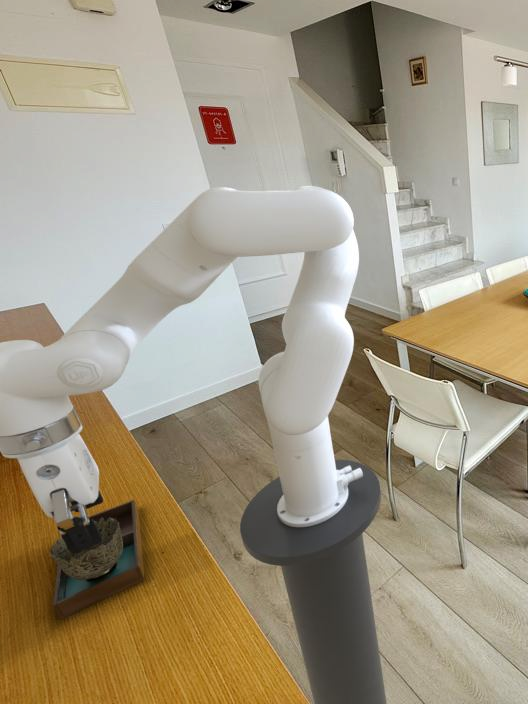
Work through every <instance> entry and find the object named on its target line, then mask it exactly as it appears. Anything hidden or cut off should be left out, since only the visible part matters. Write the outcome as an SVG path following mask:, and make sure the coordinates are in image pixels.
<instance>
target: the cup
mask: <svg viewBox="0 0 528 704" xmlns="http://www.w3.org/2000/svg"><path fill="white" fill-rule="evenodd" d="M98 521H99V522H95V521H94V522H95V524H96V526H97V528H98V530H99V532H100V534H101V536H102V542H101V543H98V544H96V545H94V546H92V547H89V548H87V549H85V550H82V551H80V552H78V553H75V554H71V553H70V551H69V549H68V547H67V545H66V544H65V542H64V540H63V539H62V538H61V537H59V538H57V540H56V542H55V543H56V544H53V545H52V546H50V548H49V550H50V551H49V552H50V554H49V556H50V558H52V559H53V561H54V562H55V563H56V565H57V567H58V566H59V567H60V568H61V569H62V570H63V571H64V572H65V573H66V574H67V575H68V576H69V577H71V578H73V579H77V580H85V581H87V582H89V583H98V582H101V581H103V580H105V579H107V578H108V577H110V576H111V575H112V574H113V573H114V572H115V570H116V568H117V562H118V560H119V559H120V557H121V555H122V551H123V541H122V535H121V530H120V525H119V522H117V521H116V519H115V518H114V520H113V519H112V518H111V517H109V518H108V519H107V521H105V520H104V518H101V519H99V520H98Z"/></svg>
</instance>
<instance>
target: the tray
mask: <svg viewBox="0 0 528 704" xmlns="http://www.w3.org/2000/svg"><path fill="white" fill-rule="evenodd" d="M88 517H89V520H90V519H92V518H93V520H94V521H95V522H99V521H98V520H99V519H101V518H104V520H105V521H107V519H108V518H109V517H111V518H112V519H113V520H114V518H115V519H116V521H117V522H119V525H120V530H121V535H122V541H123V551H122V555H121V557H120V559H119V560H118V562H117V568H116V570H115V572H114V573H113V574H112V575H111V576H110V577H108V578H107V579H105V580H103V581H101V582H98V583H89V582H87V581H85V580H77V579H73V578H71V577H69V576H68V575H67V574H66V573H65V572H64V571H63V570H62V569H61V568H60V567H59V566H58V565H57V571H56V579H55V586H54V593H53V603H52V607H53V608H54V610H55V612H56V614H57V616H58V618H59V620H60V621H62V620H64V619H66V618H68V617H70V616H72V615H74V614H77V613H79V612H80V611H82V610H84V609H87V608H89V607H91V606H93V605H95V604H97V603H100V602H101V601H104V600H106V599H108V598H110V597H112V596H114V595H116V594H118V593H120V592H123V591H125V590H127V589H128V588H131V587H133V586H135V585H137V584H140V583H142V582H143V581H145V568H144V555H143V544H142V532H141V522H140V521H141V519H140V511H139V509H138V506H137V503H136V501H135V499H131V500H129V501H127V502H124V503H121V504H119V505H116V506H113V507H110V508H108V509H105V510H102V511H100V512H97V513H95V514H92V515H90V516H89V515H88ZM60 538H62V537H61V536H60ZM62 539H63V538H62Z"/></svg>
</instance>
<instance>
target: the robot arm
mask: <svg viewBox="0 0 528 704" xmlns="http://www.w3.org/2000/svg"><path fill="white" fill-rule="evenodd" d="M354 217H355V216H354V213H353V211H352V208H351V206H350V205H349V203H348V202H347V201H346V200H345V199H344V198H343V197H342V196H341V195H339V194H338V193H336V192H335V191H332V190H331V189H326V188H324V187H321V186H317V185H302V186H299V187H296V188H294V189H293V190H292V189H291V190H238V189H235V188H232V187H227V186H215V187H211V188H209V189H206V190H204V191H203V192H201V193H200V194H199V195H198V196H196V198H195V199H193V200H192V201H191V202H190V204H189V205H187V207H185V208H184V209H183V210H182V212H180V214H178V215H177V216H176V217H175V218H174V219H173V221H171V223H169V224H168V225H167V226H166V227H165V228H164V229H163V230H162V231H161V232H160V233H159V234H158V235H157V236H156V237H155V238H154V239H153V240H152V241H151V242H150V243H149V244H148V245H147V246H146V247H145V248H144V249H143V250H142V251H141V252H140V253H139V254H138V255H137V256H136V257H135V258H134V259H133V260H132V261H131V262H130V263H129V264H128V266H127V267H126V269H125V271H124V273H123V274H122V275H121V277H119V279H118V280H117V281H116V282H115V283H114V284H113V285H112V286H111V287H110V288H109V289H108V290H107V291H106V292H105V293H104V294H103V295H102V296H101V297H100V298H99V299H98V300H97V301H96V302H95V303H94V304H93V305H92V306H91V307H90V308H89V309H88V310H86V312H85V313H84V314H83V315H82V316H81V317H80V318H79V319H78V320H77V321H75V323H74V324H72V326H71V327H69V329H68V330H67V331H66V332H65V333H64V334H63V335H62V336H61V337H60V338H59V339H58V340H57V341H54V342H53V343H51V344H49V345H47V346H44V345H42V344H41V343H40V342H37V341H35V340H31V339H15V340H7V341H2V342H0V453H1V455H2V456H3V458H7V459H17V462H18V464H19V466H20V469H21V473H22V474H23V476H24V477H25V479H26V482H27V484H28V485H29V488H30V490H31V492H32V494H33V495H34V497H35V499H36V502H37V503H38V505H39V507H40V508H41V510H42V512H44V514H45V515H46V517H48V518H53V519H54V522H55V524H56V526H57V530H58V532H59V535H60V538H61V537H62V538H63V540H64V542H65V544H66V545H67V547H68V549H69V551H70V553H71V554H75V553H78V552H80V551H82V550H85V549H87V548H89V547H92V546H94V545H96V544H98V543H101V542H102V536H101V534H100V532H99V530H98V528H97V526H96V524H95V522H94V520H93V518H92V519H90V520H89V514H88V509H90V508H93V507H96V506H98V505H101V504H103V502H104V497H103V496H102V493H101V491H100V489H99V488H100V469H99V467H98V464H97V463H96V461H95V459H94V457H93V456H92V454H91V452H90V450H89V448H88V446H87V445H86V443H85V441H84V440H83V438H82V435H81V434H80V433H81V432H82V430H83V425H82V423H81V420H80V419H79V416H78V414H77V411H76V410H75V408H74V406H73V404H72V401H71V399H70V396H79V395H80V396H81V395H88V394H93V393H98V392H101V391H104V390H107V389H108V388H110V387H112V386H113V385H115V384H116V383H117V382H118V381H119V380H120V379H121V377H122V376H123V374H124V372H125V370H126V367H127V365H128V363H129V360H130V357H131V355H132V354H133V352H134V351H135V349H136V348H137V347H138V345H140V343H142V341H143V340H144V339H145V338H146V337H147V336H148V335H149V334H150V333H151V332H152V331H153V330H154V328H156V327H157V326H158V324H160V323H161V322H162V321H163V320H164V319H165V318H166V317H167V316H168V315H169V314H171V313H172V312H173V311H174V310H176V309H177V308H180V307H181V306H183V305H187V304H190V303H192V302H194V301H196V300H197V299H199V297H201V296H202V295H203V294H204V292H206V290H207V289H208V288H209V287H210V286H211V285H212V284H213V283H214V282H215V281H216V280H217V279H218V278H219V277H220V276H221V274H223V272H224V271H226V270H227V269H228V267H229V266H230V265H231V264H232V263H233V262H234V261H235V260H236V259H237V258H239V257H240V258H245V257H264V256H278V255H286V254H288V255H289V254H298V253H299V254H300V253H303V261H302V265H301V269H300V271H299V276H298V279H297V282H296V285H295V287H294V290H293V293H292V295H291V298H290V300H289V303H288V306H287V308H286V310H285V313H284V315H283V317H282V320H281V332H282V336H283V339H284V341H285V348H284V351H280V352H278V353H276V354H274V355H272V356H271V357H270V358H268V359H267V360H266V362H264V364H263V365H262V368H261V369H260V371H259V375H258V389H259V394H260V399H261V404H262V409H263V413H264V416H265V418H266V421H267V426H268V431H269V435H270V440H271V444H272V449H273V453H274V459H275V463H276V467H277V471H278V477H280V481H281V486H282V490H283V494H284V495H283V496H282V497H281V499H280V500H279V503H278V505H277V512H278V516H279V519H280V520H281V521H282V522H283V523H284V524H286V525H288V526H291V527H308V526H313V525H316V524H319V523H321V522H324V521H326V520H327V519H329V518H331V517H332V516H334V515H335V514H336V513H338V512H339V511H340V510H341V509H342V507H343V506H344V505H345V503H346V501H347V499H348V487H347V486H348V483H349V482H351V481H353V480H357V479H359V478H361V477H363V472H362V470H361V468H358V469H356V470H353V471H352V469H351V466H350V465H349V466H347V467H345V468H343V469H341V470H336V465H335V459H336V458H335V454H334V447H333V441H332V435H331V428H330V421H329V420H330V419H329V415H330V413H331V411H332V409H333V406H334V404H335V402H336V400H337V397H338V394H339V391H340V389H341V387H342V384H343V381H344V378H345V376H346V373H347V370H348V368H349V365H350V362H351V359H352V357H353V356H352V355H353V352H354V347H355V337H354V336H355V335H354V332H353V329H352V326H351V325H350V323H349V321H348V320H347V318H346V312H347V308H348V305H349V301H350V299H351V297H352V293H353V289H354V286H355V283H356V280H357V276H358V272H359V271H358V270H359V265H360V251H359V244H358V239H357V237H356V233H355V231H354V226H355V218H354ZM345 474H346V475H345ZM72 512H75V513H79V516H80V517H79V516H77V515H76V516H74V515H73V514H72Z"/></svg>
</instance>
